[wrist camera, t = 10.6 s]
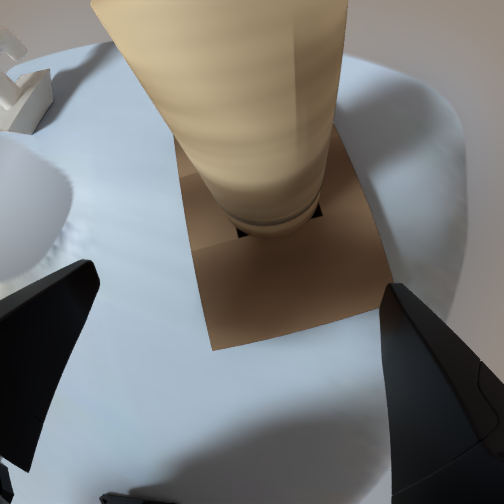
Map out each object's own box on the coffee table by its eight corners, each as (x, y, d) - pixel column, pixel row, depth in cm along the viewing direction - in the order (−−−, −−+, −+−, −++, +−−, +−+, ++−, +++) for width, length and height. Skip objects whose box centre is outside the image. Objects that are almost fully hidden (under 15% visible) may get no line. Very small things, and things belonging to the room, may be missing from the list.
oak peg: (330, 231, 15) (410, -17, 2) (236, 256, 15) (63, 58, 3) (301, 150, 16) (295, -78, 3) (217, 173, 16) (108, -32, 4)
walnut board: (388, 302, 14) (398, 300, 12) (220, 347, 14) (212, 351, 13) (309, 93, 17) (309, 77, 16) (178, 127, 18) (171, 114, 16)
